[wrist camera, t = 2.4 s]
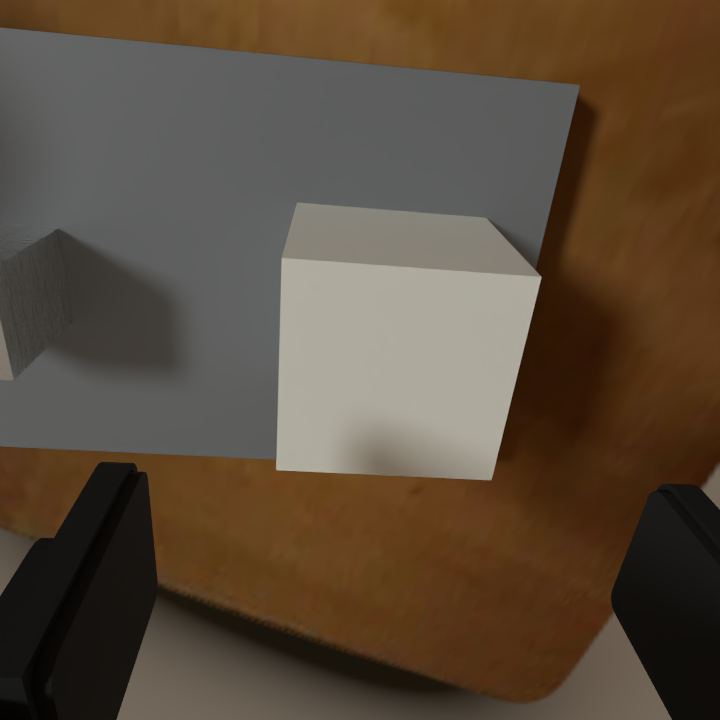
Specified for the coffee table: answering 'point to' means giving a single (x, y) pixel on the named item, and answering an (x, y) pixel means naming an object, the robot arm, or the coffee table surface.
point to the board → (226, 214)
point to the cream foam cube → (398, 342)
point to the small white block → (30, 295)
